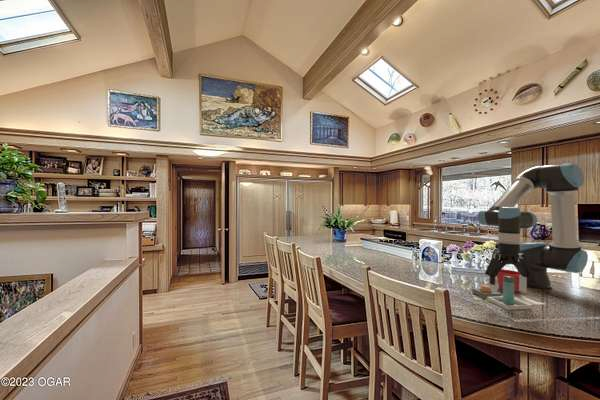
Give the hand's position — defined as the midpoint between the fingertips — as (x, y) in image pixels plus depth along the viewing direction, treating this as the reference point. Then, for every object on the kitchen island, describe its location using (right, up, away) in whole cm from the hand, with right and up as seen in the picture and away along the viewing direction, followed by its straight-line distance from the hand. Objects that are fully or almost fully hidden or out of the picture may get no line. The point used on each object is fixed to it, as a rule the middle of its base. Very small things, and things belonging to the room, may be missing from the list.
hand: (508, 291), depth 117 cm
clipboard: (+11, -6, +6) cm, 14 cm away
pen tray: (0, -6, 0) cm, 6 cm away
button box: (-2, -6, +11) cm, 13 cm away
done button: (-2, -5, +11) cm, 12 cm away
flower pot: (+16, -7, +21) cm, 27 cm away
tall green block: (0, -6, 0) cm, 6 cm away
